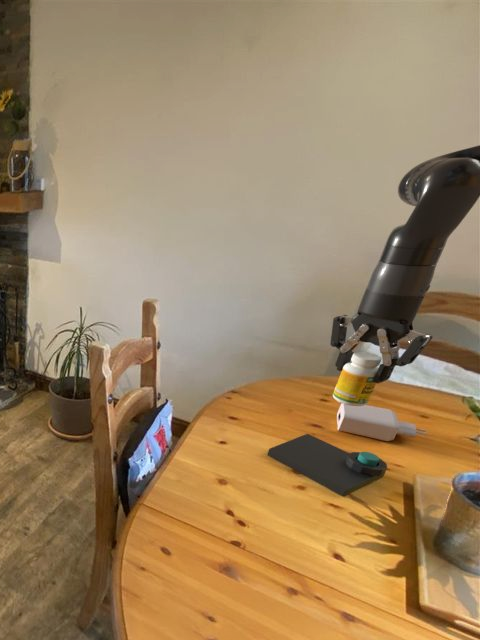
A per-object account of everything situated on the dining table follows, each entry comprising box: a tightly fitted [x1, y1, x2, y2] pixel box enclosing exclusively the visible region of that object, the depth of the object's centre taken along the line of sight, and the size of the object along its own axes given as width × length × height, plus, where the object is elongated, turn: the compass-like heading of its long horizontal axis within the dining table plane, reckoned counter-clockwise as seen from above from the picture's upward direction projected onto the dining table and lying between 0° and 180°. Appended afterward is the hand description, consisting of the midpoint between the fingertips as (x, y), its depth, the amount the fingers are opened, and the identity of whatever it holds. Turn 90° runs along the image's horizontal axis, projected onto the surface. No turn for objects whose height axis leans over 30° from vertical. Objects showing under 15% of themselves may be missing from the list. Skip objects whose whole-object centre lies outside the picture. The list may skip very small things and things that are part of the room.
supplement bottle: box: [332, 351, 382, 406], centre depth 80 cm, size 5×5×10 cm
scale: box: [266, 433, 388, 498], centre depth 88 cm, size 15×13×4 cm
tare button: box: [357, 451, 380, 466], centre depth 84 cm, size 3×3×2 cm
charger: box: [336, 403, 428, 442], centre depth 97 cm, size 5×9×15 cm
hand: (359, 375), depth 79 cm, fingers closed on supplement bottle, 5 cm apart
